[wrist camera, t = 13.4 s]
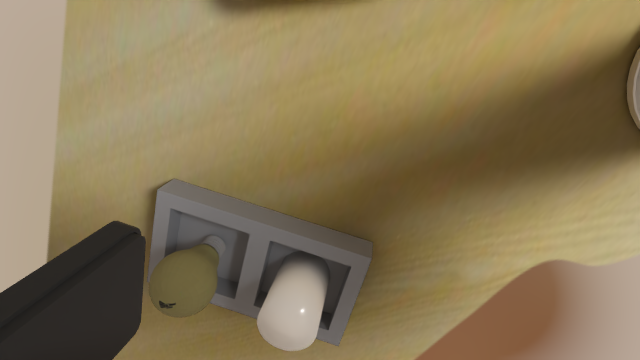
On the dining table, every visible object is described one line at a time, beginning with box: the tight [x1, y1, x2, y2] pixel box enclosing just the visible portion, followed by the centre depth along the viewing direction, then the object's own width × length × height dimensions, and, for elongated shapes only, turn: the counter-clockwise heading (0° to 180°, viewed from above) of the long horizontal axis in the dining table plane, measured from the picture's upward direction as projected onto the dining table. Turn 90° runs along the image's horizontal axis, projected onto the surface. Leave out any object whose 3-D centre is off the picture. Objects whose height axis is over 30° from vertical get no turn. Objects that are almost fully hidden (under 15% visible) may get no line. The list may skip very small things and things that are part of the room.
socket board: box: [147, 179, 373, 346], centre depth 39 cm, size 21×11×3 cm, turn 74°
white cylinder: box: [257, 251, 330, 351], centre depth 36 cm, size 5×5×8 cm
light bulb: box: [149, 235, 225, 317], centre depth 35 cm, size 6×6×10 cm
